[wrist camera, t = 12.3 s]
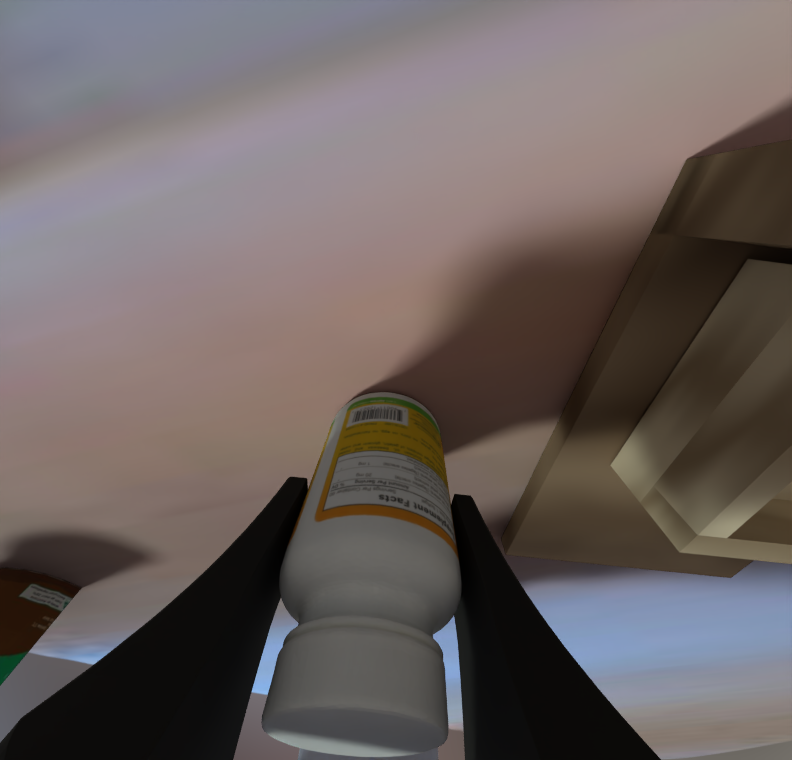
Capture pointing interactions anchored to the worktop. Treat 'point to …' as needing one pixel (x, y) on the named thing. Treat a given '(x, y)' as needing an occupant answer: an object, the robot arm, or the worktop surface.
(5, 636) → the food container
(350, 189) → the worktop surface
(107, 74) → the worktop surface
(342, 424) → the supplement bottle
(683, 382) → the beige square tray
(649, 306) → the base
